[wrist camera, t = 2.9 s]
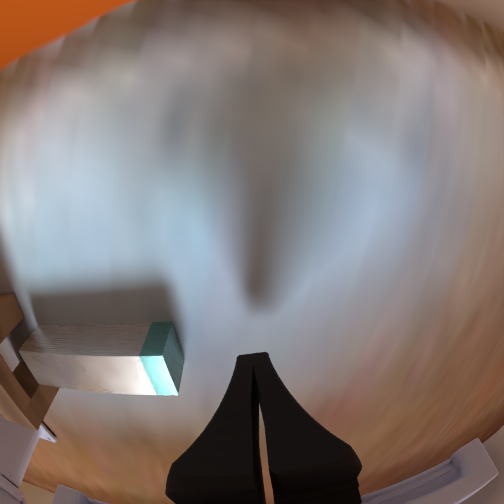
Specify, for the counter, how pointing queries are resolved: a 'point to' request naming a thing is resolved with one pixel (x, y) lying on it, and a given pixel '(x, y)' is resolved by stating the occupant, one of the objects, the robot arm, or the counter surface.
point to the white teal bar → (107, 358)
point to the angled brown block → (20, 377)
